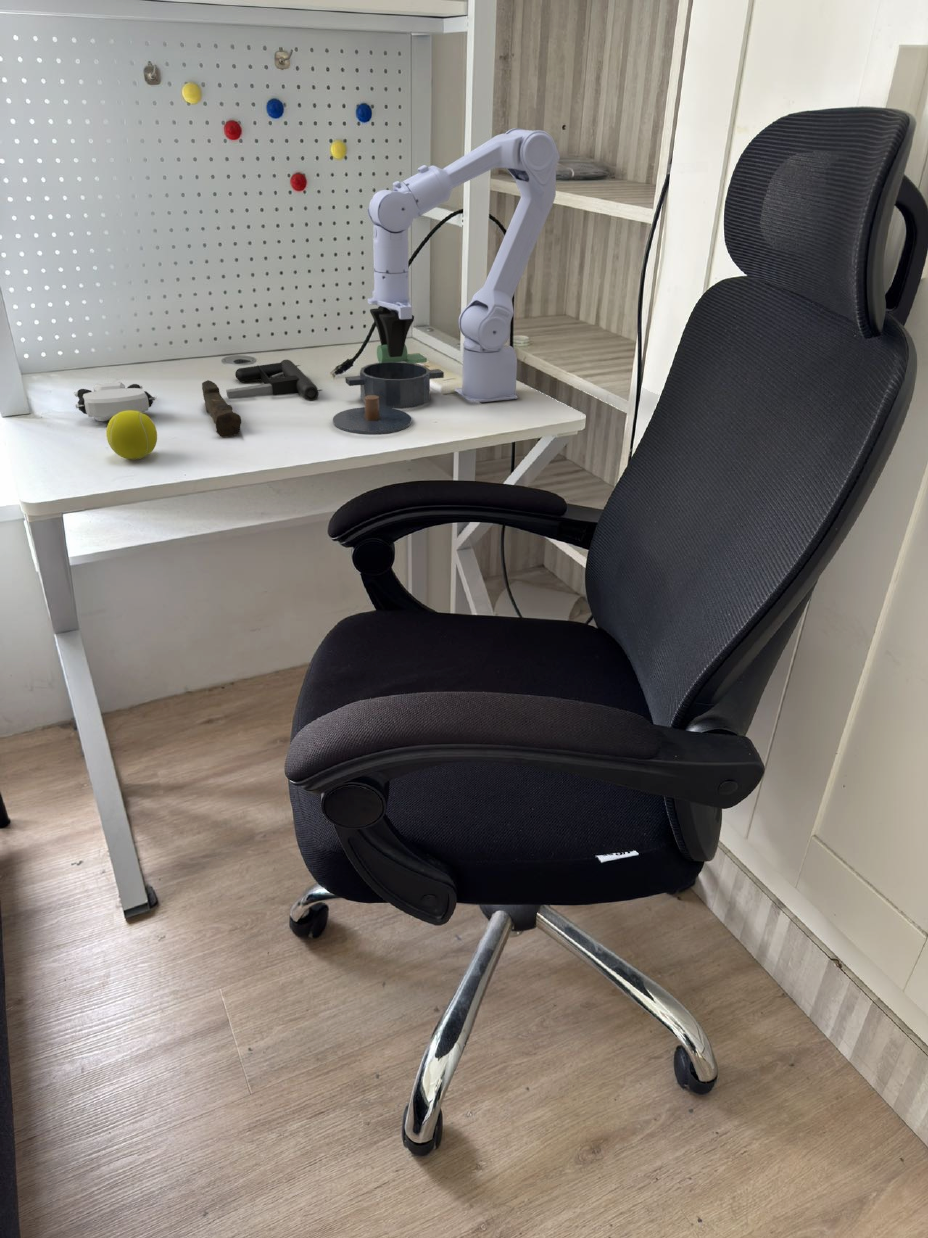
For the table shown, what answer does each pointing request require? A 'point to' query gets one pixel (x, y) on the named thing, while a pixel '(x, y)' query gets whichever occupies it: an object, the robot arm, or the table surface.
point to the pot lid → (372, 418)
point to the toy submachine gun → (274, 381)
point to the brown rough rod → (220, 411)
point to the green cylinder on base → (409, 358)
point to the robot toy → (112, 400)
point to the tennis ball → (131, 434)
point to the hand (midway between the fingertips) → (392, 353)
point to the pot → (396, 383)
